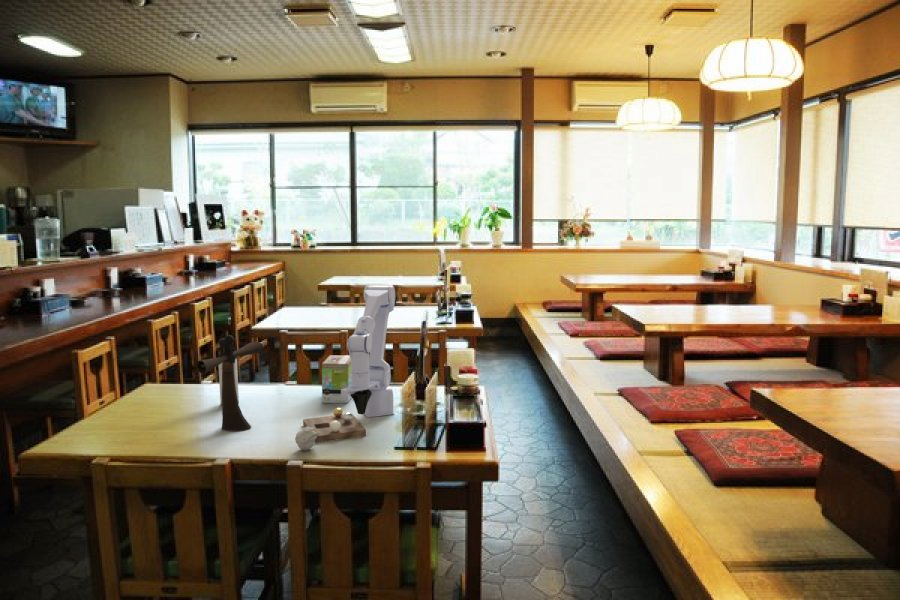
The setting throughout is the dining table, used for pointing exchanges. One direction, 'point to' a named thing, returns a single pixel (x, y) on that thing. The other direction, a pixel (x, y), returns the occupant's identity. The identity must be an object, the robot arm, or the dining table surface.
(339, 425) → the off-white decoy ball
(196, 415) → the dining table surface
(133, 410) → the dining table surface
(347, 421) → the steel ball
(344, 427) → the walnut board
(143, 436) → the dining table surface
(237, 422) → the t-shaped wooden sculpture
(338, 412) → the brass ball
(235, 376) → the travel mug
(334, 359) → the tea box
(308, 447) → the grey rounded lump
